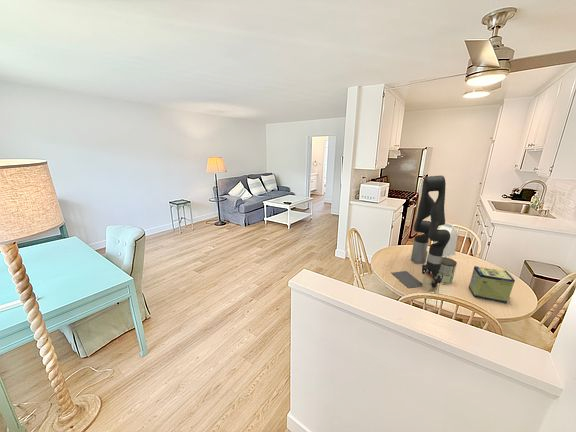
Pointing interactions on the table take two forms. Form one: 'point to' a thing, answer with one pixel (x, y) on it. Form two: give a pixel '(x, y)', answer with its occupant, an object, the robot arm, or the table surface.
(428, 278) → the block
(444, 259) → the coffee can
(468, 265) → the table surface
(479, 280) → the protein box
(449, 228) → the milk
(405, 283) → the mat
